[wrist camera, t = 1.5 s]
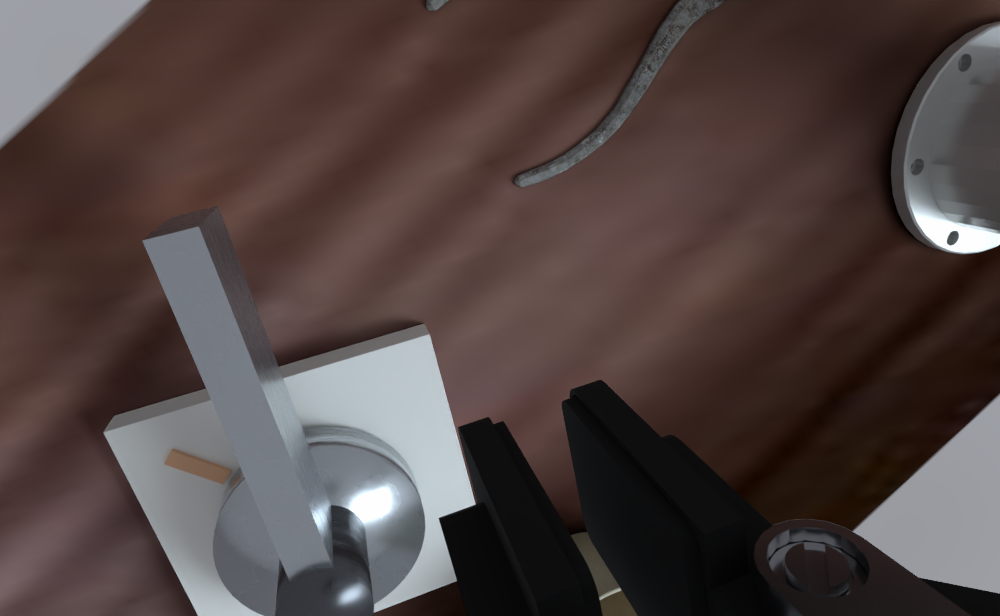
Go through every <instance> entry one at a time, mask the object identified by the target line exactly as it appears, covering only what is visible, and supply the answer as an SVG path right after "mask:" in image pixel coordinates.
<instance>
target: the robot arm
mask: <svg viewBox="0 0 1000 616" xmlns="http://www.w3.org/2000/svg"><path fill="white" fill-rule="evenodd" d="M891 181H892V192H893V197H894V201H895V204H896V208H897V211H898V214H899V215H900V217H901V219H902V221H903V223H904V225H905V227H906V228H907V229H908V230H909V231H910V232H911V233H912V235H913V236H914V237H915V238H916V239H918V240H919V241H921V242H922V243H924V244H926V245H927V246H929V247H932V248H936V249H939V250H943V251H946V252H951V253H958V254H970V253H979V252H982V251H985V250H988V249H991V248H994V247H996V246H998V245H1000V21H998V22H994V23H990V24H986V25H983V26H981V27H979V28H977V29H975V30H973V31H971V32H969V33H967V34H965V35H963V36H962V37H961V38H959V39H958V40H957V41H955V42H954V43H953V44H951V45H950V46H949V47H948V48H947V49H946V50H945V51H944V52H943V53H942V54H941V55H940V56H939V57H938V58H937V59H936V60H935V61H934V62H933V63H932V64H931V66H930V67H929V68H928V70H927V71H926V73H925V74H924V75H923V77H922V78H921V80H920V81H919V83H918V84H917V86H916V88H915V89H914V91H913V93H912V95H911V97H910V99H909V101H908V103H907V105H906V107H905V109H904V112H903V115H902V117H901V120H900V123H899V126H898V128H897V132H896V137H895V142H894V146H893V151H892V164H891ZM562 410H563V415H564V421H565V426H566V431H567V436H568V441H569V446H570V452H571V457H572V462H573V467H574V472H575V477H576V483H577V488H578V493H579V498H580V503H581V509H582V514H583V519H584V523H585V527H586V530H587V533H588V535H589V538H590V540H591V542H592V544H593V545H594V547H595V548H596V550H597V552H598V553H599V555H600V556H601V558H602V560H603V561H604V563H605V564H606V566H607V568H608V569H609V571H610V572H611V574H612V576H613V577H614V579H615V580H616V582H617V584H618V585H619V587H620V588H621V590H622V591H623V593H624V595H625V596H626V598H627V599H628V601H629V603H630V604H631V606H632V607H633V609H634V611H635V612H636V614H637V615H638V616H1000V594H998V593H993V592H988V591H983V590H978V589H973V588H968V587H963V586H958V585H953V584H948V583H943V582H937V581H933V580H928V579H922V578H918V577H917V576H915V575H914V574H913V573H911V572H910V571H908V570H907V569H905V568H904V567H903V566H901V565H900V564H899V563H897V562H896V561H894V560H893V559H892V558H890V557H889V556H887V555H886V554H885V553H883V552H882V551H880V550H879V549H878V548H876V547H875V546H874V545H872V544H871V543H869V542H868V541H867V540H865V539H864V538H862V537H861V536H859V535H857V534H855V533H854V532H852V531H850V530H848V529H847V528H845V527H842V526H839V525H836V524H833V523H829V522H826V521H819V520H811V519H800V520H788V521H785V522H782V523H779V524H776V525H773V526H772V525H771V524H770V523H769V522H768V521H767V520H766V519H765V518H764V517H763V516H762V515H761V514H759V513H758V512H757V511H756V510H755V509H754V508H753V507H752V506H751V505H750V504H749V503H748V502H747V501H745V500H744V499H743V498H742V497H741V496H740V495H739V494H738V493H737V492H736V491H735V490H734V489H733V488H731V487H730V486H729V485H728V484H727V483H726V482H725V481H724V480H723V479H722V478H721V477H720V476H719V475H717V474H716V473H715V472H714V471H713V470H712V469H711V468H710V467H709V466H708V465H707V464H706V463H705V462H703V461H702V460H701V459H700V458H699V457H698V456H697V455H696V454H695V453H694V452H693V451H692V450H690V449H689V448H688V447H687V446H686V445H685V444H684V443H683V442H682V441H681V440H680V439H678V438H677V437H675V436H672V435H668V436H665V437H662V438H661V437H660V436H659V435H658V434H657V433H656V432H655V431H654V430H653V429H652V428H651V427H650V426H649V425H648V424H647V423H646V422H645V421H644V420H643V419H642V418H641V417H640V416H639V415H638V414H636V413H635V412H634V411H633V410H632V409H631V408H630V407H629V406H628V405H627V404H626V403H625V402H624V401H623V400H622V399H621V398H620V397H619V396H618V395H617V394H616V393H615V392H614V391H613V390H612V389H611V388H610V387H609V386H608V385H607V384H606V383H605V382H603V381H602V380H598V381H595V382H592V383H589V384H586V385H583V386H580V387H577V388H574V389H571V391H570V399H567V400H564V401H563V402H562ZM458 430H459V435H460V439H461V442H462V446H463V450H464V453H465V457H466V461H467V465H468V468H469V472H470V476H471V480H472V483H473V487H474V491H475V494H476V498H477V502H478V504H476V505H473V506H470V507H468V508H465V509H462V510H459V511H457V512H454V513H451V514H448V515H445V516H443V517H440V518H439V521H440V525H441V528H442V532H443V535H444V538H445V542H446V545H447V549H448V552H449V555H450V559H451V562H452V565H453V569H454V572H455V576H456V579H457V582H458V586H459V589H460V593H461V596H462V599H463V603H464V606H465V609H466V613H467V616H603V614H602V609H601V604H600V599H599V595H598V591H597V587H596V584H595V581H594V579H593V576H592V573H591V571H590V569H589V567H588V565H587V563H586V561H585V559H584V557H583V555H582V554H581V552H580V550H579V549H578V547H577V545H576V544H575V542H574V540H573V538H572V537H571V535H570V533H569V532H568V530H567V528H566V527H565V525H564V523H563V521H562V520H561V518H560V516H559V515H558V513H557V511H556V510H555V508H554V506H553V504H552V503H551V501H550V499H549V498H548V496H547V494H546V493H545V491H544V489H543V487H542V486H541V484H540V482H539V481H538V479H537V477H536V476H535V474H534V472H533V470H532V469H531V467H530V465H529V464H528V462H527V460H526V459H525V457H524V455H523V453H522V452H521V450H520V448H519V447H518V445H517V443H516V442H515V440H514V438H513V436H512V435H511V433H510V431H509V430H508V428H507V426H506V425H505V423H504V422H503V421H502V422H499V423H496V424H493V423H492V421H491V420H490V418H489V417H487V418H484V419H481V420H478V421H475V422H472V423H469V424H466V425H463V426H460V427H458Z"/></svg>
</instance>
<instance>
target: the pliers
mask: <svg viewBox="0 0 1000 616" xmlns="http://www.w3.org/2000/svg"><path fill="white" fill-rule="evenodd" d="M447 1H449V0H426V8H427V10H428V11H436V10H437V9H439V8H440V7H441V6H442V5H444V4H445V3H446V2H447ZM724 1H726V0H679V1H678V3H677V4H676V5H675V6H674V8H673V9H672V10H671V12H670V13H669V14H668V16H667V17H666V19H665V20H664V21H663V23H662V24H661V25H660V27H659V29H658V31H657V32H656V34H655V36H654V37H653V39H652V41H651V42H650V44H649V46H648V48H647V50H646V52H645V54H644V56H643V58H642V59H641V61H640V63H639V65H638V67H637V68H636V70H635V72H634V74H633V76H632V77H631V79H630V81H629V83H628V84H627V86H626V88H625V89H624V91H623V93H622V95H621V96H620V98H619V99H618V101H617V103H616V104H615V106H614V107H613V109H612V110H611V112H610V113H609V115H608V116H607V117H606V118H605V119H604V120H603V121H602V123H601V124H600V125H599V126H598V127H597V128H596V130H594V131H593V132H592V133H591V134H590V135H589V136H588V137H586V138H585V139H584V140H583V141H582V142H581V143H579V144H578V145H577V146H575V147H574V148H572V149H571V150H570V151H568V152H567V153H566V154H564V155H563V156H561V157H559V158H557V159H555V160H553V161H551V162H549V163H547V164H545V165H543V166H540V167H538V168H535V169H533V170H530V171H528V172H525V173H523V174H521V175H518V176H517V177H516V179H515V180H514V183H515V185H517V186H519V187H524V186H528V185H532V184H535V183H538V182H541V181H543V180H546V179H548V178H551V177H553V176H555V175H557V174H559V173H561V172H563V171H565V170H567V169H569V168H570V167H572V166H573V165H575V164H576V163H578V162H579V161H581V160H582V159H584V158H585V157H587V156H588V155H590V154H591V153H592V152H594V151H595V150H596V149H597V148H599V147H600V146H601V145H602V144H604V143H605V142H606V141H607V140H608V139H609V138H610V137H611V136H612V135H613V134H614V133H615V132H616V131H617V130H618V129H619V128H620V127H621V126H622V124H623V123H624V122H625V120H626V119H627V118H628V116H629V115H630V114H631V112H632V111H633V110H634V108H635V107H636V105H637V104H638V102H639V101H640V99H641V97H642V96H643V94H644V93H645V91H646V90H647V88H648V87H649V85H650V83H651V82H652V80H653V79H654V77H655V76H656V74H657V73H658V71H659V69H660V68H661V66H662V65H663V63H664V62H665V60H666V58H667V57H668V55H669V54H670V53H671V51H672V50H673V48H674V47H675V45H676V44H677V43H678V41H679V40H680V39H681V37H682V36H683V35H684V34H685V33H686V31H687V30H688V29H689V28H690V26H691V25H693V24H694V23H695V22H696V21H697V20H698V19H700V18H701V17H702V16H703V15H704V14H705V13H708V12H710V11H712V10H713V9H715V8H716V7H717V6H719V5H720V4H721V3H723V2H724Z"/></svg>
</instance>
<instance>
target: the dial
mask: <svg viewBox="0 0 1000 616" xmlns="http://www.w3.org/2000/svg"><path fill="white" fill-rule="evenodd" d="M142 241H143V243H144V246H145V248H146V250H147V253H148V255H149V257H150V259H151V262H152V264H153V266H154V269H155V271H156V273H157V276H158V278H159V280H160V283H161V285H162V287H163V290H164V292H165V294H166V296H167V299H168V301H169V303H170V306H171V308H172V310H173V313H174V315H175V317H176V320H177V322H178V324H179V327H180V329H181V331H182V334H183V336H184V338H185V340H186V343H187V345H188V347H189V350H190V352H191V354H192V357H193V359H194V361H195V364H196V366H197V368H198V371H199V373H200V375H201V377H202V380H203V382H204V384H205V387H206V389H207V391H208V394H209V396H210V398H211V401H212V403H213V405H214V408H215V410H216V412H217V414H218V417H219V419H220V421H221V424H222V426H223V428H224V431H225V433H226V435H227V438H228V440H229V442H230V445H231V447H232V449H233V452H234V454H235V456H236V458H237V461H238V463H239V465H240V467H239V469H238V470H237V471H236V472H235V474H234V475H233V477H232V478H231V480H230V482H229V484H228V486H227V488H226V490H225V492H224V495H223V499H222V502H221V506H220V510H219V514H218V518H217V523H216V527H215V531H214V538H213V557H214V563H215V567H216V570H217V572H218V575H219V577H220V579H221V581H222V582H223V584H224V586H225V587H226V589H227V590H228V591H229V592H230V593H231V594H232V596H233V597H235V598H236V599H237V600H238V601H239V602H240V603H241V604H243V605H244V606H246V607H247V608H249V609H251V610H252V611H254V612H256V613H258V614H261V615H263V616H373V614H374V604H376V603H377V602H379V601H380V600H382V599H383V598H384V597H386V596H387V595H388V594H390V593H391V592H392V591H393V590H394V589H395V588H396V587H397V586H398V585H399V584H400V583H401V582H402V581H403V580H404V579H405V578H406V576H407V575H408V573H409V572H410V571H411V569H412V568H413V566H414V564H415V562H416V561H417V559H418V556H419V554H420V551H421V549H422V545H423V541H424V536H425V515H424V510H423V506H422V502H421V498H420V494H419V491H418V487H417V483H416V480H415V477H414V475H413V472H412V470H411V468H410V467H409V465H408V463H407V462H406V461H405V459H404V458H403V457H402V456H401V455H400V453H398V452H397V451H396V450H395V449H394V448H393V447H392V446H390V445H389V444H387V443H386V442H384V441H383V440H381V439H379V438H377V437H375V436H373V435H371V434H368V433H365V432H362V431H359V430H354V429H350V428H342V427H317V428H310V429H305V430H303V429H302V427H301V424H300V421H299V419H298V416H297V413H296V411H295V408H294V405H293V403H292V400H291V397H290V395H289V392H288V389H287V387H286V384H285V382H284V379H283V376H282V374H281V371H280V368H279V366H278V363H277V360H276V358H275V355H274V352H273V350H272V347H271V344H270V342H269V339H268V336H267V334H266V331H265V329H264V326H263V323H262V321H261V318H260V315H259V313H258V310H257V307H256V305H255V302H254V299H253V297H252V294H251V291H250V289H249V286H248V283H247V281H246V278H245V275H244V273H243V270H242V268H241V265H240V262H239V260H238V257H237V254H236V252H235V249H234V246H233V244H232V241H231V238H230V236H229V233H228V230H227V228H226V225H225V222H224V220H223V217H222V215H221V212H220V209H219V207H218V206H215V207H211V208H207V209H203V210H199V211H195V212H191V213H187V214H182V215H178V216H174V217H171V218H170V219H169V220H167V221H166V222H165V223H164V224H162V225H161V226H160V227H159V228H157V229H156V230H155V231H154V232H152V233H151V234H150V235H149V236H147V237H146V238H145V239H144V240H142Z"/></svg>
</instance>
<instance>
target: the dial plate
mask: <svg viewBox="0 0 1000 616" xmlns="http://www.w3.org/2000/svg"><path fill="white" fill-rule="evenodd" d="M279 368H280V371H281V374H282V376H283V379H284V382H285V384H286V387H287V389H288V392H289V395H290V397H291V400H292V403H293V405H294V408H295V411H296V413H297V416H298V419H299V421H300V424H301V427H302V429H303V430H305V429H310V428H317V427H342V428H350V429H354V430H359V431H362V432H365V433H368V434H371V435H373V436H375V437H377V438H379V439H381V440H383V441H384V442H386V443H387V444H389V445H390V446H392V447H393V448H394V449H395V450H396V451H397V452H398V453H400V455H401V456H402V457H403V458H404V459H405V461H406V462H407V463H408V465H409V467H410V468H411V470H412V472H413V475H414V477H415V480H416V483H417V487H418V491H419V494H420V498H421V502H422V506H423V510H424V515H425V536H424V541H423V545H422V549H421V551H420V554H419V556H418V559H417V561H416V562H415V564H414V566H413V568H412V569H411V571H410V572H409V573H408V575H407V576H406V578H405V579H404V580H403V581H402V582H401V583H400V584H399V585H398V586H397V587H396V588H395V589H394V590H393V591H392V592H391V593H390V594H388V595H387V596H386V597H384V598H383V599H382V600H380V601H379V602H377V603H376V604H374V612H377V611H380V610H382V609H385V608H388V607H390V606H393V605H395V604H398V603H401V602H403V601H406V600H409V599H411V598H414V597H416V596H419V595H422V594H424V593H427V592H430V591H432V590H435V589H437V588H440V587H443V586H445V585H448V584H450V583H453V582H456V581H457V579H456V576H455V572H454V569H453V565H452V562H451V559H450V555H449V552H448V549H447V545H446V542H445V538H444V535H443V532H442V528H441V525H440V521H439V518H440V517H443V516H445V515H448V514H451V513H454V512H457V511H459V510H462V509H465V508H468V507H470V506H473V505H476V504H475V500H474V497H473V493H472V489H471V486H470V482H469V478H468V475H467V471H466V467H465V464H464V460H463V456H462V452H461V449H460V445H459V441H458V438H457V434H456V430H455V427H454V423H453V419H452V415H451V412H450V408H449V404H448V401H447V397H446V393H445V390H444V386H443V382H442V379H441V375H440V371H439V367H438V364H437V360H436V356H435V353H434V349H433V345H432V342H431V338H430V334H429V332H428V330H427V328H426V326H425V324H421V325H417V326H414V327H411V328H407V329H404V330H401V331H397V332H394V333H391V334H387V335H384V336H380V337H377V338H374V339H370V340H367V341H364V342H360V343H357V344H354V345H350V346H347V347H343V348H340V349H337V350H333V351H330V352H327V353H323V354H320V355H317V356H313V357H310V358H306V359H303V360H300V361H296V362H293V363H290V364H286V365H283V366H280V367H279ZM103 433H104V435H105V437H106V439H107V441H108V443H109V445H110V447H111V448H112V450H113V452H114V454H115V456H116V458H117V460H118V462H119V464H120V466H121V468H122V470H123V472H124V474H125V475H126V477H127V479H128V481H129V483H130V485H131V487H132V489H133V491H134V493H135V495H136V497H137V499H138V501H139V503H140V504H141V506H142V508H143V510H144V512H145V514H146V516H147V518H148V520H149V522H150V524H151V526H152V528H153V530H154V532H155V533H156V535H157V537H158V539H159V541H160V543H161V545H162V547H163V549H164V551H165V553H166V555H167V557H168V559H169V561H170V562H171V564H172V566H173V568H174V570H175V572H176V574H177V576H178V578H179V580H180V582H181V584H182V586H183V588H184V589H185V591H186V593H187V595H188V597H189V599H190V601H191V603H192V605H193V607H194V609H195V611H196V613H197V615H198V616H263V615H261V614H258V613H256V612H254V611H252V610H251V609H249V608H247V607H246V606H244V605H243V604H241V603H240V602H239V601H238V600H237V599H236V598H235V597H233V596H232V594H231V593H230V592H229V591H228V590H227V589H226V587H225V586H224V584H223V582H222V581H221V579H220V577H219V575H218V572H217V570H216V567H215V563H214V557H213V538H214V531H215V527H216V523H217V518H218V514H219V510H220V506H221V502H222V499H223V495H224V492H225V490H226V488H227V486H228V484H229V482H230V480H231V478H232V477H233V475H234V474H235V472H236V471H237V470H238V469H239V467H240V465H239V463H238V461H237V458H236V456H235V454H234V452H233V449H232V447H231V445H230V442H229V440H228V438H227V435H226V433H225V431H224V428H223V426H222V424H221V421H220V419H219V417H218V414H217V412H216V410H215V408H214V405H213V403H212V401H211V398H210V396H209V394H208V391H207V389H202V390H199V391H196V392H192V393H189V394H185V395H182V396H179V397H175V398H172V399H169V400H165V401H162V402H159V403H155V404H152V405H148V406H145V407H142V408H138V409H135V410H132V411H128V412H125V413H122V414H118V415H115V416H114V417H113V418H112V420H111V421H110V423H109V424H108V426H107V427H106V429H105V431H104V432H103Z"/></svg>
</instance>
